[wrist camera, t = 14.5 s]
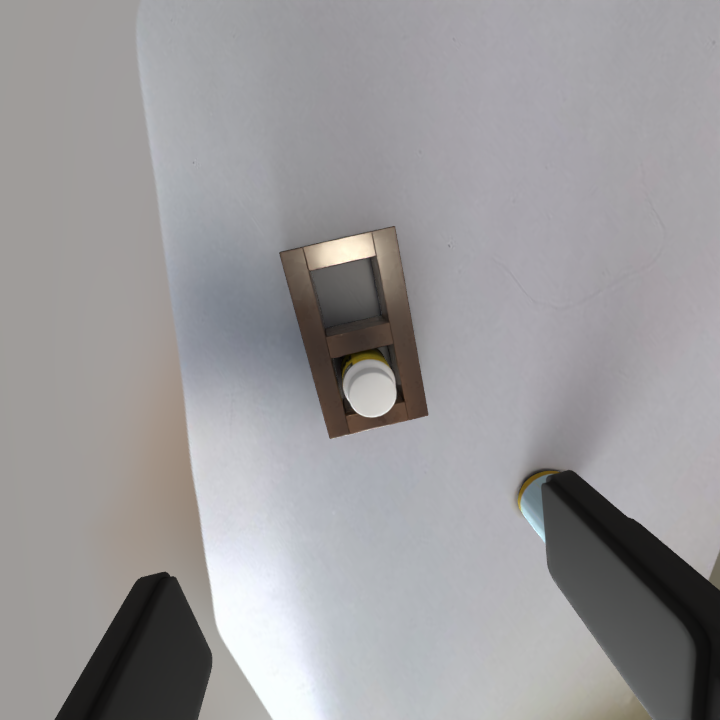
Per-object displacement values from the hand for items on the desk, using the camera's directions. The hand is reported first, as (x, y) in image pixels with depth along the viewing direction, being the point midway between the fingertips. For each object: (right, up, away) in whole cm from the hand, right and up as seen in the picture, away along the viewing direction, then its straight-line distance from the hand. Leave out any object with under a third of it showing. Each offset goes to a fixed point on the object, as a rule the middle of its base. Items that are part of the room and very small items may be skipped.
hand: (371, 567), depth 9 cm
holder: (-1, +8, +27) cm, 28 cm away
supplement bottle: (0, +5, +28) cm, 29 cm away
